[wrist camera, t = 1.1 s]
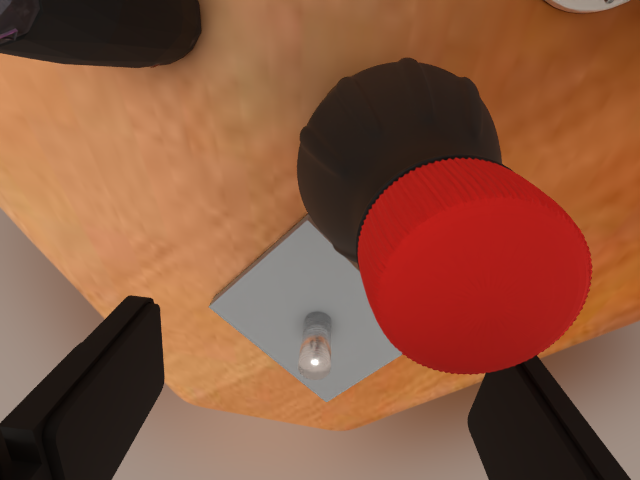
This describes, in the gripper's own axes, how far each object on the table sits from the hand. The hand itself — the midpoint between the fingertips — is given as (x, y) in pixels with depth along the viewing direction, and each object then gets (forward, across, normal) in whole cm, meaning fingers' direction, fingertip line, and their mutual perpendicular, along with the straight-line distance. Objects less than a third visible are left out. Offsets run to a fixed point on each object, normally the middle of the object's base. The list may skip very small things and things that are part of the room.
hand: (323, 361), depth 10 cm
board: (+28, -1, +18) cm, 33 cm away
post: (+26, -1, +18) cm, 32 cm away
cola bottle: (+28, -2, -4) cm, 28 cm away
